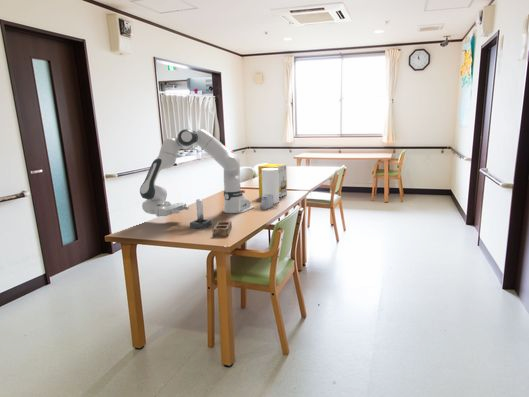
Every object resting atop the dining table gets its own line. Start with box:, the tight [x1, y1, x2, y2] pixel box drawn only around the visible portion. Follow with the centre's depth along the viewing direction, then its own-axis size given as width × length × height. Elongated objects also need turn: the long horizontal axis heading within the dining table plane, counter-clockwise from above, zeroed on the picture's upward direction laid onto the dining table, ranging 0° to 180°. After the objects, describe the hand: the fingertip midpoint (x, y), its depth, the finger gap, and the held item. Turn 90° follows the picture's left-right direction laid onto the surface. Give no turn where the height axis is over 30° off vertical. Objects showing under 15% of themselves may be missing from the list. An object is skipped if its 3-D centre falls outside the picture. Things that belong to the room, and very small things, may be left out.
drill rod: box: [195, 198, 204, 223], centre depth 223 cm, size 4×4×16 cm
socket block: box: [189, 218, 213, 230], centre depth 225 cm, size 9×9×3 cm
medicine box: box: [260, 195, 274, 210], centre depth 265 cm, size 8×4×9 cm, turn 141°
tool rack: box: [212, 221, 233, 237], centre depth 211 cm, size 8×15×4 cm, turn 178°
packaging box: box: [257, 163, 288, 198], centre depth 301 cm, size 16×16×25 cm
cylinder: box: [262, 168, 280, 204], centre depth 280 cm, size 12×12×25 cm
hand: (183, 209), depth 228 cm, fingers open, 8 cm apart
